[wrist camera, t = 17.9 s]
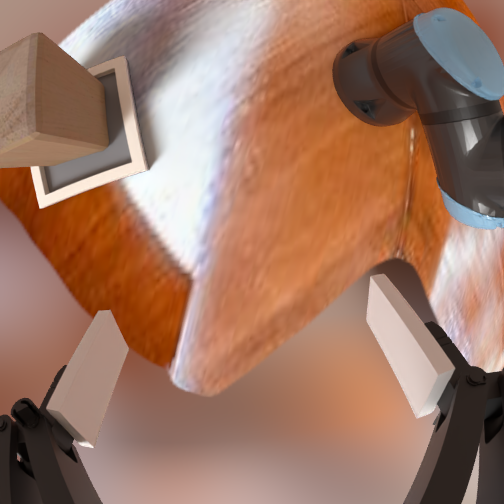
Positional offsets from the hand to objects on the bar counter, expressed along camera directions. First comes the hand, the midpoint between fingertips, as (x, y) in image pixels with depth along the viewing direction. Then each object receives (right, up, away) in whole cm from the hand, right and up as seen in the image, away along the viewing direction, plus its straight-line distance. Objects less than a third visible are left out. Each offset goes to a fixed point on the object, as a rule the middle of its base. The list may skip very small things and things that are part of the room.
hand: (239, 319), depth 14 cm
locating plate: (-23, +20, +20) cm, 37 cm away
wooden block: (-24, +21, +18) cm, 37 cm away
